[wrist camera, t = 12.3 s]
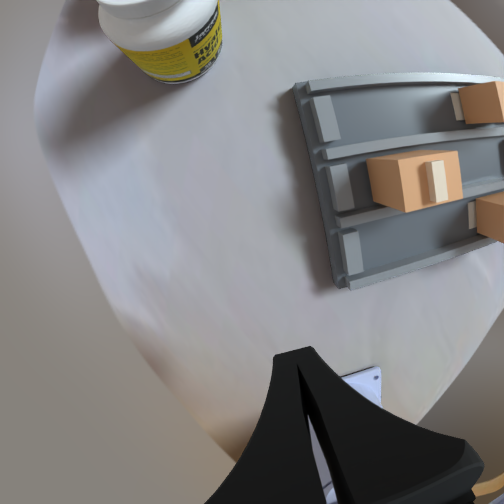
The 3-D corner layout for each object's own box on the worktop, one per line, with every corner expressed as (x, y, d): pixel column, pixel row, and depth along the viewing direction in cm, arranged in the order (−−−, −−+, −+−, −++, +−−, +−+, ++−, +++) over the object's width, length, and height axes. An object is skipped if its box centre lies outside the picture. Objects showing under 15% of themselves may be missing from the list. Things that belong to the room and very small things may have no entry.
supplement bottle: (215, 89, 17) (194, 23, 7) (131, 84, 16) (51, 32, 7) (230, 16, 15) (227, -80, 6) (150, 13, 15) (97, -68, 5)
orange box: (498, 122, 16) (540, 122, 12) (465, 124, 16) (510, 121, 12) (491, 90, 15) (532, 84, 11) (457, 88, 15) (501, 79, 11)
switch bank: (509, 226, 20) (526, 232, 18) (333, 282, 21) (343, 295, 19) (491, 79, 16) (507, 76, 14) (292, 87, 17) (299, 78, 15)
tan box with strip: (425, 189, 17) (469, 200, 13) (373, 201, 18) (411, 215, 13) (419, 150, 17) (464, 150, 12) (365, 158, 17) (403, 160, 12)
